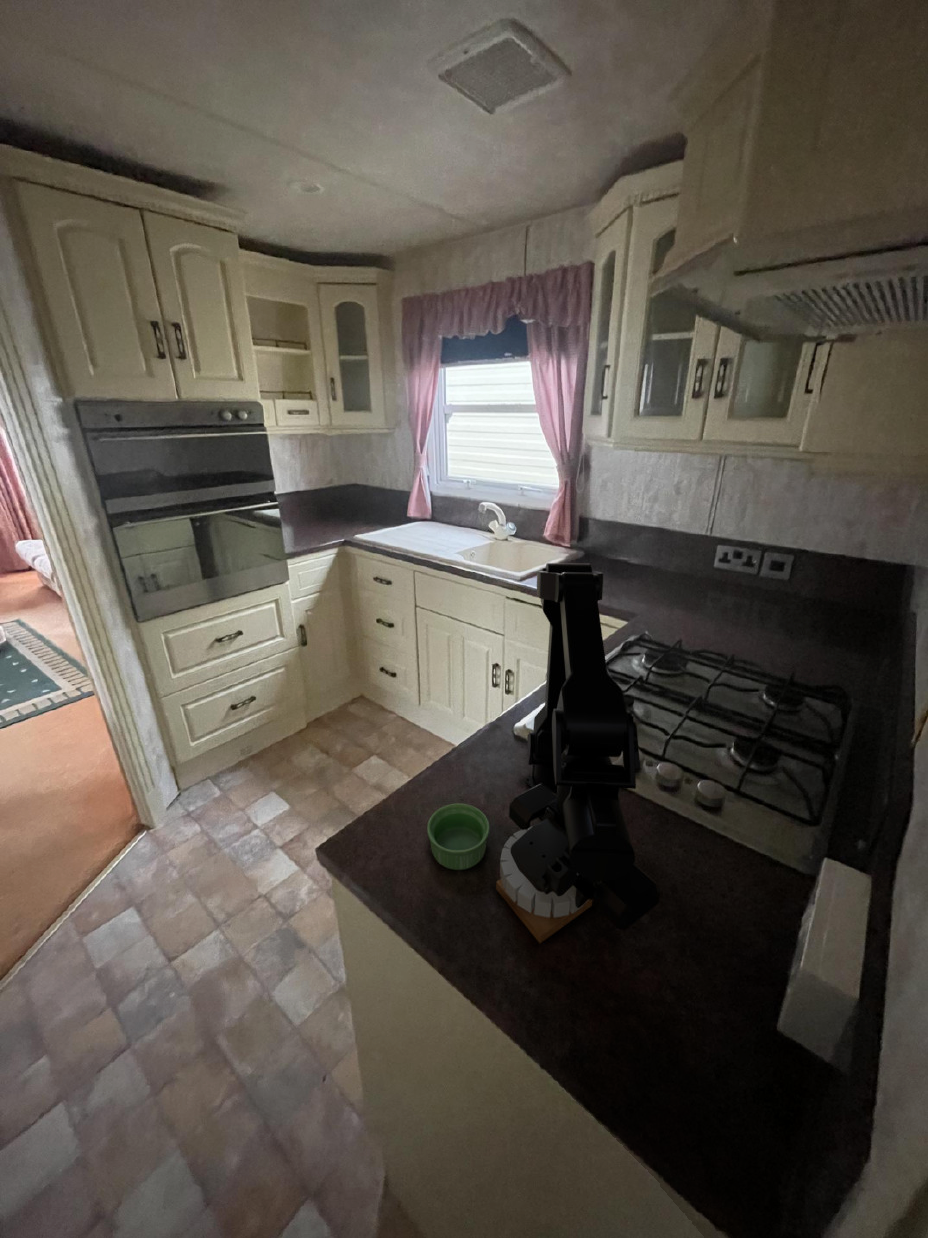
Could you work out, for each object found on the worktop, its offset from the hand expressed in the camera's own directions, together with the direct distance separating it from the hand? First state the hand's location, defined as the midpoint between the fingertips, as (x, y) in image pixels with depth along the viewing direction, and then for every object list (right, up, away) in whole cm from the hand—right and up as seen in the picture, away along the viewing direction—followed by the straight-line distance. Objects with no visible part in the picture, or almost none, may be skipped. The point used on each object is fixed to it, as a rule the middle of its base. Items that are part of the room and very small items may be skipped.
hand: (571, 896), depth 63 cm
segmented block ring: (-3, +1, +4) cm, 5 cm away
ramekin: (-14, 0, +13) cm, 19 cm away
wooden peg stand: (-3, -3, +6) cm, 7 cm away
